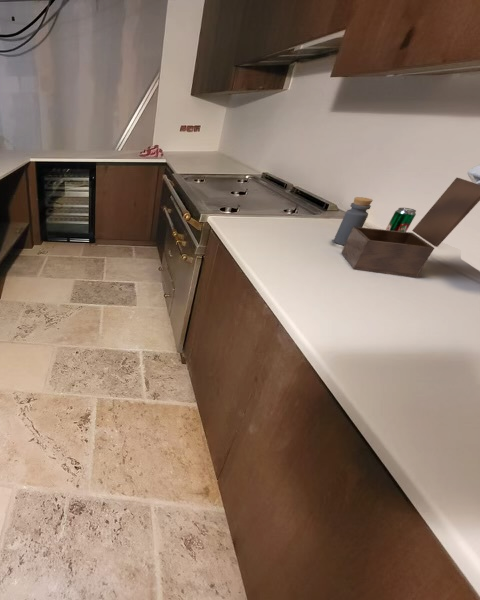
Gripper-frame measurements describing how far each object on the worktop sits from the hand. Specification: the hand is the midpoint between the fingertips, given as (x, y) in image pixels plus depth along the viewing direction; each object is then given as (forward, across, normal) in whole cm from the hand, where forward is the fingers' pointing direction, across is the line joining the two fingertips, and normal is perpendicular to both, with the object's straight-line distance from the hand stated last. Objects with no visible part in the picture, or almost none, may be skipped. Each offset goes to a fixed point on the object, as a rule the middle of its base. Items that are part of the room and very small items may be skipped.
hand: (465, 196), depth 82 cm
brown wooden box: (+22, +1, +7) cm, 23 cm away
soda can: (+15, -20, +14) cm, 29 cm away
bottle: (+25, -16, +4) cm, 30 cm away
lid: (+4, +1, +1) cm, 5 cm away
